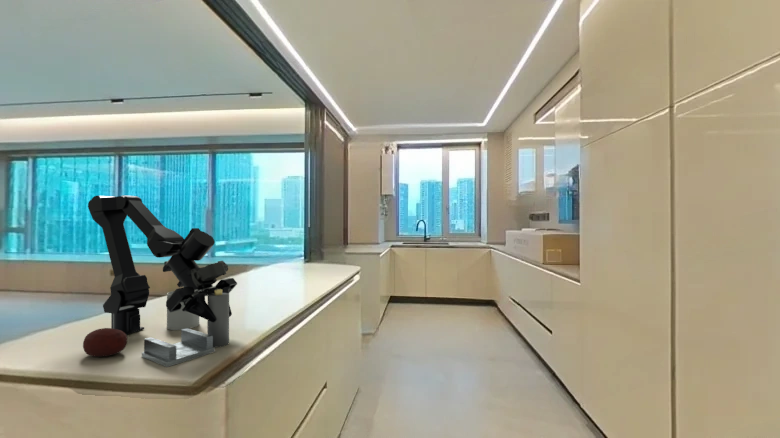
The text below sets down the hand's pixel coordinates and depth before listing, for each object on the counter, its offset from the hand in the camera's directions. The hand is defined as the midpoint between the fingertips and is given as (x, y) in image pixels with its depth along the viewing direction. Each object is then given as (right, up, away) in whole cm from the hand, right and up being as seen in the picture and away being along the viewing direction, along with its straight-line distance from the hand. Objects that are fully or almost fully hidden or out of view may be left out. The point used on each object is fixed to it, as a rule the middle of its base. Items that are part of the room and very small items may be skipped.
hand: (223, 318), depth 94 cm
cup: (-19, -7, +16) cm, 26 cm away
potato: (-24, -7, -7) cm, 26 cm away
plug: (-5, -7, +1) cm, 8 cm away
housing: (-7, -7, -7) cm, 12 cm away
